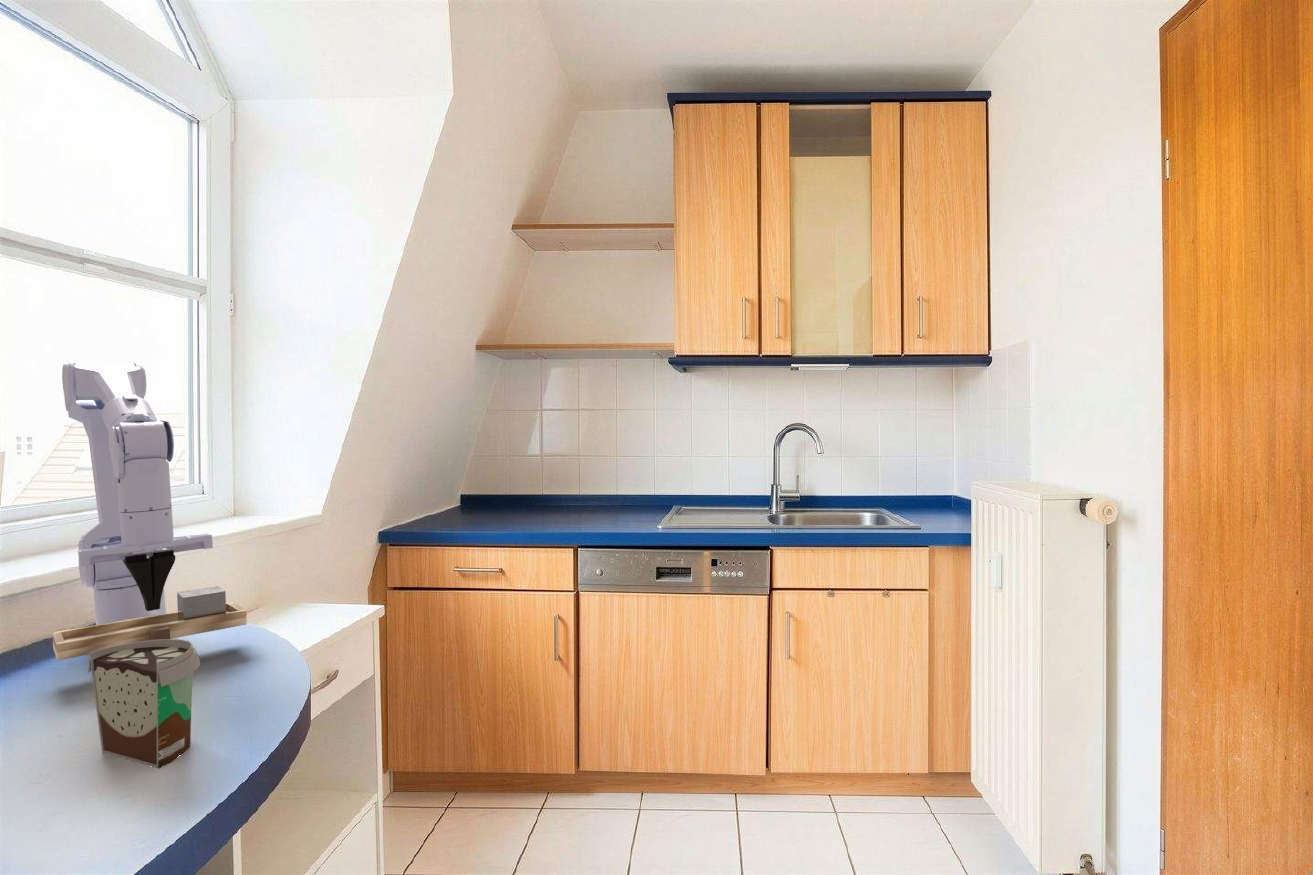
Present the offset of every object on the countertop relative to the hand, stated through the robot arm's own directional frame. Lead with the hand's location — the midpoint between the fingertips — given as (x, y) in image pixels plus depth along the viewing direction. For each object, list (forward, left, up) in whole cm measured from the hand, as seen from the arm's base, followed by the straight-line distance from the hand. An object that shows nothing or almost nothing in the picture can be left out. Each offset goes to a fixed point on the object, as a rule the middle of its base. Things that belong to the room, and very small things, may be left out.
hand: (152, 608), depth 93 cm
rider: (-3, +5, -3) cm, 6 cm away
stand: (0, 0, -8) cm, 8 cm away
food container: (+27, +15, -8) cm, 32 cm away
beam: (0, 0, -3) cm, 3 cm away
